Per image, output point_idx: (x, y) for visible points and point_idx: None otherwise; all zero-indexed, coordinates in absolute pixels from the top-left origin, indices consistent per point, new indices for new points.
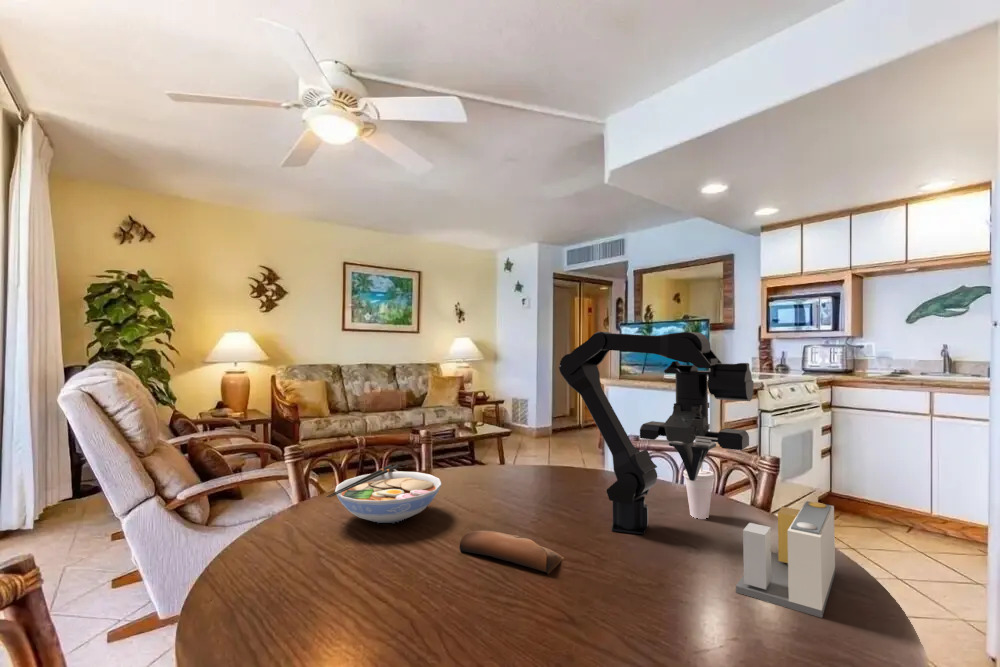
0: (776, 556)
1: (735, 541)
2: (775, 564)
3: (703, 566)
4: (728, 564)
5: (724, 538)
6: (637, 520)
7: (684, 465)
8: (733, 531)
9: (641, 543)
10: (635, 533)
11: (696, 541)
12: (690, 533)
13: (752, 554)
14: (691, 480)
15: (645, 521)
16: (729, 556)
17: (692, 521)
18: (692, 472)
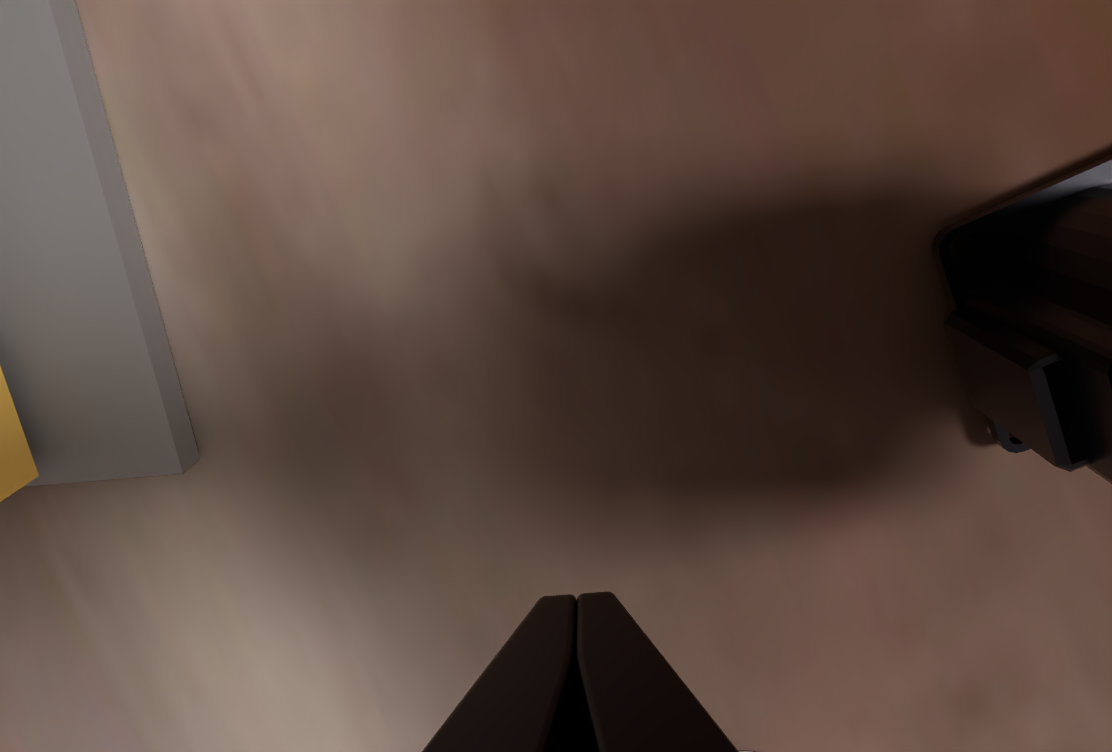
0: (69, 432)
1: (402, 562)
2: (7, 302)
3: (360, 10)
4: (264, 176)
5: (472, 563)
6: (1047, 269)
7: (722, 734)
8: None
9: (886, 73)
10: (996, 205)
11: (584, 398)
12: (672, 501)
13: None
14: (586, 595)
15: (983, 324)
16: (320, 309)
17: (743, 696)
18: (548, 665)
